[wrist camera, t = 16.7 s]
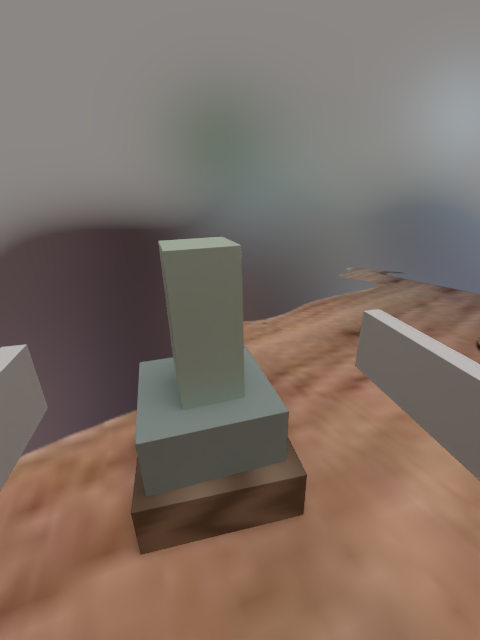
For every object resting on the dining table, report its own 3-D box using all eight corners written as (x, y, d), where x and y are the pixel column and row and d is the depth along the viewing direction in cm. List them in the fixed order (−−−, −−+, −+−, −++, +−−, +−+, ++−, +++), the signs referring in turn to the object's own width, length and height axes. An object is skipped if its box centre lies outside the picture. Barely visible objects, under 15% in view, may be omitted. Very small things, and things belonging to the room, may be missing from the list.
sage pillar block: (182, 410, 23) (162, 251, 18) (175, 375, 27) (158, 240, 22) (244, 397, 24) (241, 245, 19) (228, 366, 28) (222, 236, 24)
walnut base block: (141, 557, 22) (130, 513, 20) (150, 434, 34) (144, 398, 32) (302, 517, 25) (306, 474, 23) (259, 415, 37) (259, 381, 35)
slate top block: (146, 497, 22) (135, 444, 20) (146, 403, 31) (139, 362, 29) (286, 460, 24) (288, 411, 22) (246, 385, 34) (246, 346, 32)
